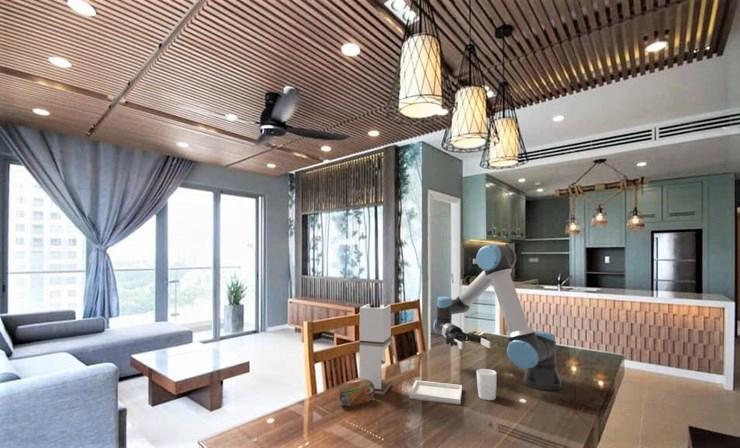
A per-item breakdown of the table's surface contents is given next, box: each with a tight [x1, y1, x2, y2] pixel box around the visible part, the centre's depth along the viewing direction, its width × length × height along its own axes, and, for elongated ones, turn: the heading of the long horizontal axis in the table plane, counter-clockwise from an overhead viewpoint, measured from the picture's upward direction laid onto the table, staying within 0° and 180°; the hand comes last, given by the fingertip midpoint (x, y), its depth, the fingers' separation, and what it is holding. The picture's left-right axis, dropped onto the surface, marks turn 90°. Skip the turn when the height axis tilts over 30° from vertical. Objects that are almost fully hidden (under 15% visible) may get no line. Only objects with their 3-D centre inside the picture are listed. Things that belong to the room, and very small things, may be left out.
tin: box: [337, 379, 375, 407], centre depth 142 cm, size 15×3×8 cm, turn 118°
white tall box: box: [358, 303, 392, 396], centre depth 158 cm, size 11×11×35 cm
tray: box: [408, 379, 463, 406], centre depth 151 cm, size 20×16×2 cm
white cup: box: [476, 368, 497, 401], centre depth 148 cm, size 8×8×10 cm
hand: (476, 345), depth 158 cm, fingers open, 13 cm apart
